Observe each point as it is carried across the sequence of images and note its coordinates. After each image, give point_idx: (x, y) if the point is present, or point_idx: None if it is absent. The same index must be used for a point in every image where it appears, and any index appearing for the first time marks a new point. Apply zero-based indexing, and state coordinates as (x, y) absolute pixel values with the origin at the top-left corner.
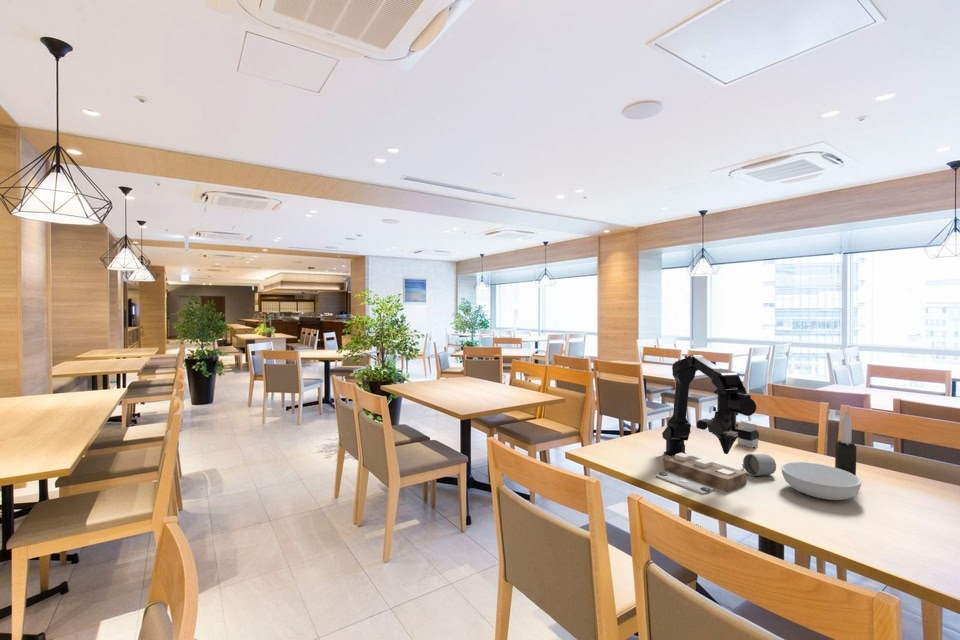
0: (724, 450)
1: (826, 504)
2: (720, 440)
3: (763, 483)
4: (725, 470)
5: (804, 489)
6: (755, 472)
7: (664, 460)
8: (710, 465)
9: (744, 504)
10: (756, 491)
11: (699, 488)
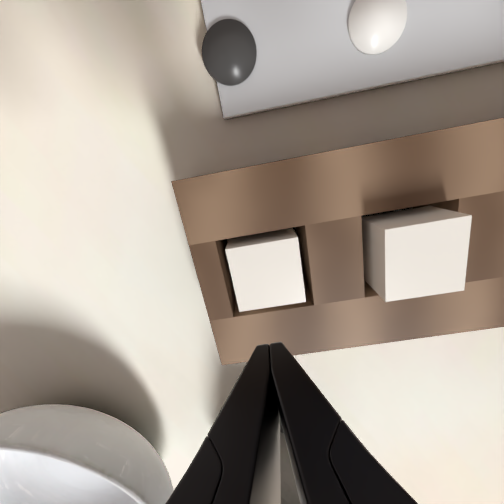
0: (275, 363)
1: (11, 399)
2: (366, 495)
3: (208, 383)
4: (277, 288)
5: (20, 410)
6: None
7: None
8: (375, 277)
9: (46, 118)
10: (155, 298)
11: (255, 28)
